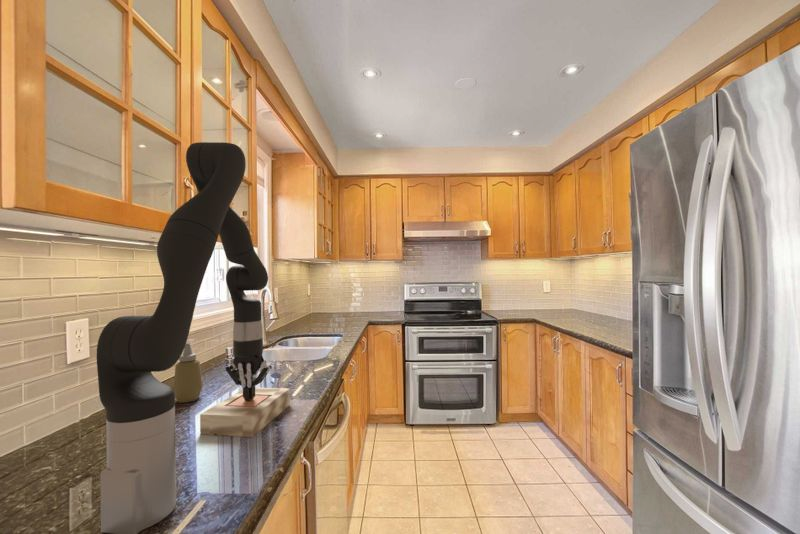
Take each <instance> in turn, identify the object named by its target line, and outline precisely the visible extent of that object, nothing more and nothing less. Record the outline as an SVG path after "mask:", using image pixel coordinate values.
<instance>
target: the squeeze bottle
mask: <svg viewBox="0 0 800 534" xmlns="http://www.w3.org/2000/svg"><path fill="white" fill-rule="evenodd" d="M173 378H174V379H173V380H174V381H173V386H172V389H173V390H174V393H175V400H176V401H177V402H178V403H181V404H184V403H190V402H193V401H196V400H198V399H199V398H200V395H201V393H202V389H203V385H204V384H203V378H202V369H201V362H200V361H199V360H198V359H197V353H194V352H193V350H192V347H191V343H190V342H186V345H185V348H184V350H183V352H182V355H181V356H180V358H179V360H178V361H177V362H176V363H175V370H174V377H173Z"/></svg>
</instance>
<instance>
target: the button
mask: <svg viewBox="0 0 800 534" xmlns="http://www.w3.org/2000/svg"><path fill="white" fill-rule="evenodd" d="M268 398H269V396H260V395H255V397H254V398H253V399H252V400H251V401H245V400H244V398H243V396H242V397H240V398H239V399H237V400H235V401H234V402H232V403H231V404H229V405H228V406H235V407H256V406H258V405H259V404H260V403H262V402H263V401H265V400H266V399H268Z"/></svg>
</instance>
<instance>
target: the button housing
mask: <svg viewBox="0 0 800 534" xmlns="http://www.w3.org/2000/svg"><path fill="white" fill-rule="evenodd" d="M290 391H291V388H289V387H288V388H285V387H283V388H281V387H258V386H257V387H256V386H255V395H260V396H269V398H268V399H266V400H265V401H263V402H262V403H260V404H259V405H258V406H256V407H235V406H228V405H229V404H231V403H232V402H234V401H235V400H237V399H239V398H240V397H242V396H243V389H242V390H239V391H237V392H235V393H234V394H232V395H231V396H229V397H227V398H226V399H224V400H223V401H220V402H219V403H217V404H215V405H214V406H211V407H210V408H208V409H207V410H204V411H202V412H201V413H200V414H199V423H200V424H199V428H200V429H199V430H200V432H199V434H200V435H204V434H205V435H206V434H217V435H216V436H222V435H228V436H227V437H239V438H240V437H243V438H253V437H254V436H255V435H257V434H258V433H259V432H260V431H261V430H262V429H264V428H265V427H266V426H267V425H268V424H270V423H271V422H272V421H273V420H274V419H275V418H277V417H278V416H280V414H281V413H283V412H284V411H285V410H286V409H288V408H289V407H290V405H291V392H290Z"/></svg>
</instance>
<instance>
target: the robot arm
mask: <svg viewBox="0 0 800 534" xmlns="http://www.w3.org/2000/svg"><path fill="white" fill-rule="evenodd" d="M185 161H186V166H187V170H188V173H189V174H190V177H191V179H192V181H193V183H194V185H195V188H196V189H197V191H198V193H196V194H195V195H194V196H192V197H191V198H190V199H189V200H187V201H186V202H185V203H183V204H182V205H181V206H179V207H178V208H177V209H175V211H174V212H172V214H171V215H170V217H168V220H167V222H166V224H165V226H164V228H163V230H162V233H161V235H160V237H159V238H158V242H157V246H156V256H157V259H158V264H159V268H160V270H161V273H162V277H163V288H162V292H161V293H162V294H161V296H160V299H159V301H158V304H157V305H156V306H157V307H156V309H155V311H154V312H153V314H152V315H123V316H120V317H116V318H114V319H112V320H110V321H109V322H108V323H107V324H106V325H105V326H104V327H103V329H102V330H101V332H100V335H99V337H98V340H97V345H96V369H97V370H96V371H97V379H98V380H97V382H98V395H99V400H100V403H101V405H102V406H103V408H104V410H105V415H106V417H105V418H106V422H105V423H106V426H105V427H106V468H104V469H103V470H102V471H100V474H99V476H100V477H99V479H100V483H99V484H100V485H99V486H100V533H103V534H104V533H105V534H139V533H141V532H142V531H143V530H146V529H148V528H150V527H152V526H154V525H156V524H158V523H159V522H161V521H162V520H164V519H165V518H166V517H168V516H169V515H170V514H171V513H172V512H173V511H174V510H175V507H176V505H177V471H176V470H177V468H176V465H177V463H176V458H177V457H176V397H175V393H174V390H173V387H171V386H169V385H168V384H166V383H164V382H161V381H160V380H159V379H157V378H156V377H155V376H154V374H153V372H154V373H155V372H156V373H157V372H164V371H167V370H170V369H171V368H173V366H176V364H177V363H178V362H179V358H180V356H181V355H183V352H184V348H185V345H186V343H188V338H189V333H190V330H191V326H192V321H193V318H194V312H195V308H196V304H197V299H198V297H199V292H200V289H201V287H202V284H203V281H204V277H205V275H206V272H207V267H208V265H209V263H210V260H211V258H212V257H213V253H214V250H215V246H216V244H217V241H218V239H219V238H220V242H221V245H222V248H223V251H224V254H225V257H226V259H227V260H228V261H229V262H230V263H233V264H236V265H232V266H230V267H229V269H228V270H227V272H226V275H225V282H226V285H227V289H228V292H229V295H230V298H231V301H232V306H233V328H232V340H233V341H232V342H233V343H232V345H233V346H232V347H233V348H232V351H233V352H232V354H233V356H234V358H233V360H232V363H231V364H230V365H228V366H226V367H225V371H226V373H228V375H229V376H230V378H231V379H232V381H233V382H234V383H235V385H237V386H241V387H242V390H243V398H244V400H245V401H251V400H252V399H253V398H254V397H255V387H256V386H257V385H259V384H261V383H262V382H263V381H264V380H265V378H266V377H267V375H268V374H269V372H270V371H271V370H272V369H273V368H272V365H270V364H269V365H268V364H266V362H265V358H264V357H263V352H264V341H263V340H264V331H263V323H262V322H263V321H262V303H261V301H260V300H259V299H256V298H251V297H249V296H247V295H246V293H245V291H261V290H264V289H265V288H266V286H267V284H268V282H269V275H268V272H267V271H268V270H267V269H266V267H265V266H264V263H263V262H262V261H261V259H260V258H259V257H260V256H259V255H258V254H257V252H256V250H255V248H254V245H253V240H252V237H251V233H250V229H249V227H248V225H247V224H246V222H245V221H244V220H243V218H241V216H240V215H239V214H238V213H237V212H236V211H235V209H234V208H233V207H232V206H231V204H232V201H233V199H234V198H235V196H236V194H237V192H238V190H239V188H240V186H241V183H242V182H243V179H244V176H245V172H246V167H247V166H246V165H247V162H246V161H247V160H246V155H245V152H244V151H243V150H242V148H241V147H240V146H239V145H236V144H235V143H231V142H224V141H223V142H222V141H221V142H216V141H215V142H212V141H211V142H210V141H209V142H207V141H203V142H202V141H201V142H200V141H199V142H193V143H191V144H190V145H189V146H188V147H187V150H186V153H185Z"/></svg>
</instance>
